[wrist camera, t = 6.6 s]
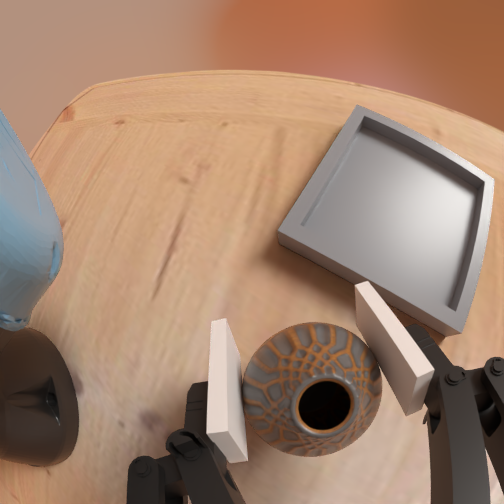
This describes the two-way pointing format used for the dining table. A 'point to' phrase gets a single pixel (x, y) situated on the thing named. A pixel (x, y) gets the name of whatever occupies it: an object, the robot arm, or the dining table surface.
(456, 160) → the tray
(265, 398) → the vase
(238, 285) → the dining table surface
